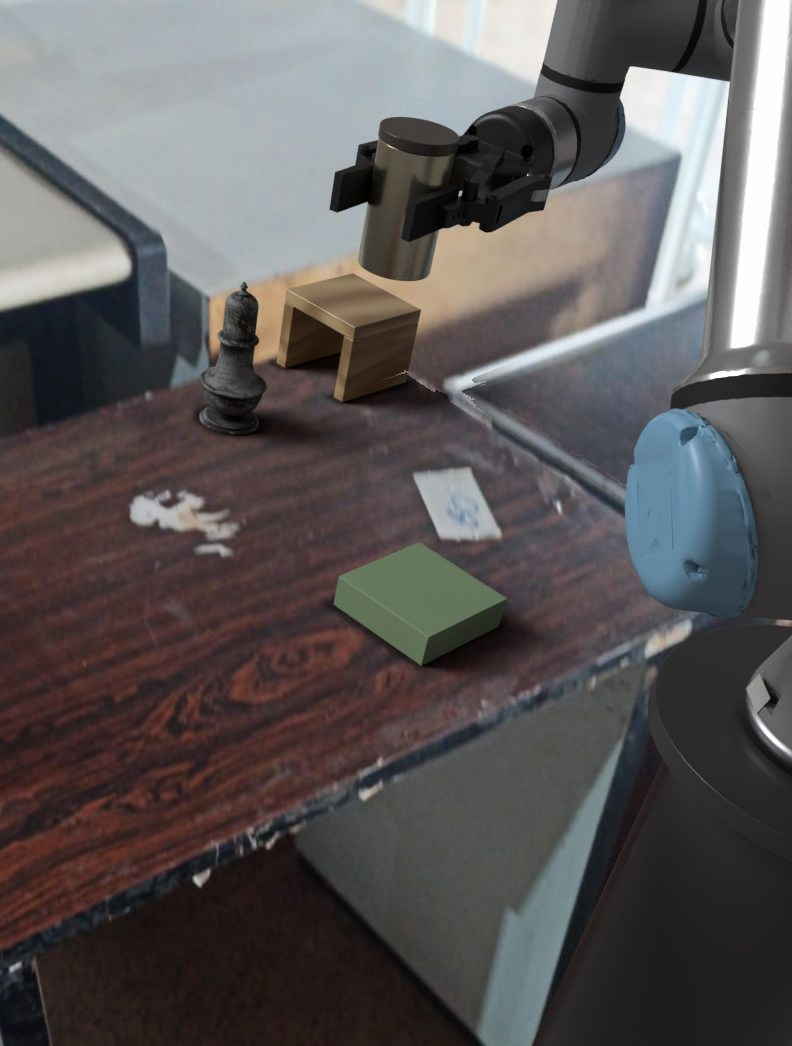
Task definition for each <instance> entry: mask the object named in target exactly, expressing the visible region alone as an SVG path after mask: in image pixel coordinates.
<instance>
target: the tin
mask: <svg viewBox="0 0 792 1046" xmlns="http://www.w3.org/2000/svg"><path fill="white" fill-rule="evenodd" d="M378 126H379V127H378V132H377V136H378V139H377V140H378V145H377V151H376V157H375V162H374V168H373V174H372V180H371V186H370V191H369V197H368V202H366V210H365V215H364V221H363V228H362V231H361V232H362V233H361V239H360V244H359V249H358V255H357V262H358V264H359V266H360V267H361V268H363V270H365V271H367V272H368V273H370V274H372V275H375V276H378V277H380V278H383V279H386V280H392V281H398V282H417V281H422V280H424V279H427V278H428V277H429V276H430V275H431V270H432V265H433V262H434V261H433V260H434V257H435V251H436V246H437V242H438V238H439V233H440V230H438V231H435V232H433V233H431V234H428V235H426V236H423V237H421V238H418V239H416V240H413V241H411V242H407V241H405V240H402V239H401V236H402V231H403V226H404V220H405V215H406V210H407V205H408V201H410V200H412V199H415V198H418V197H420V196H423V195H426V194H429V193H431V192H434V191H437V190H439V189H442V188H445V187H447V186H449V181H450V176H451V172H452V167H453V162H454V158H455V153H456V152H457V150H458V145H459V140H460V138H459V136H460V135H459V134H458V133H457V132H456V131H455V130H453V129H451V128H450V127H448V126H446V125H443V124H440V123H438V122H435V121H431V120H427V119H422V118H418V117H410V116H409V117H408V116H391V117H386V118H384V119H382V120H381V121H380V123H379V125H378Z"/></svg>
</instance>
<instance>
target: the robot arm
mask: <svg viewBox="0 0 792 1046" xmlns="http://www.w3.org/2000/svg"><path fill="white" fill-rule="evenodd" d="M554 9H555V10H554V13H553V17H552V21H551V22H552V23H551V26H550V31H549V36H548V40H547V44H546V49H545V53H544V57H543V61H542V63H541V64H542V65H541V69H540V72H539V74H538V78H537V83H536V87H535V91H534V96H533V98H529V99H526V100H523V101H519V102H516V103H512V104H510V105H506V106H504V107H501V108H498V109H495V110H491V111H488V112H485V113H484V114H482V115H480V116H479V117H477V118H476V119H475V120H474V121H473V122H471V124H470V125H469V126H468V128H467V129H466V130H465V131H464V133H463V134H462V135H459V138H460V140H459V145H458V150H457V152H456V153H455V158H454V162H453V167H452V172H451V176H450V181H449V186H447V187H445V188H442V189H439V190H437V191H434V192H431V193H429V194H426V195H423V196H420V197H418V198H415V199H412V200H410V201H408V205H407V210H406V215H405V220H404V226H403V231H402V236H401V239H402V240H405V241H407V242H411V241H413V240H416V239H418V238H421V237H423V236H426V235H428V234H431V233H433V232H435V231H438V230H439V231H440V230H442V229H451V228H453V227H455V226H456V227H457V226H460V227H470V226H471V225H472V224H473V223H476V224H478V230H479V231H482V232H483V233H487V234H488V233H493V232H495V231H497V230H499V229H500V228H501V229H502V228H503V227H505V226H506V225H508V224H510V223H512V222H514V221H515V220H518V219H519V218H521V217H523V216H525V215H527V214H529V213H535V212H541V211H544V210H545V208H546V205H547V204H546V203H547V200H548V197H549V193H550V191H552V190H555V189H558V188H561V187H563V186H565V185H568V184H571V183H574V182H579V181H581V180H585V179H586V178H588V177H591V176H592V175H594V174H595V173H596V172H598V170H600V169H601V168H603V167H605V166H606V165H608V164H609V163H610V162H611V161H612V159H614V157H615V156H616V155H617V153H618V152H619V150H620V148H621V146H622V143H623V141H624V138H625V135H626V134H625V133H626V129H627V125H626V114H625V106H624V104H623V101H622V100H621V95H622V92H623V90H624V89H623V88H624V86H625V82H626V78H627V76H628V75H627V74H628V72H629V70H630V67H633V68H640V69H647V70H654V71H661V72H668V73H672V74H673V73H675V74H679V75H686V76H691V77H698V78H704V79H708V80H709V79H710V80H715V81H722V82H728V83H729V85H728V86H729V87H728V96H727V106H726V115H725V124H724V133H723V143H722V152H721V160H720V161H721V162H720V171H719V180H718V188H717V189H718V191H717V192H718V193H717V200H716V209H715V219H714V227H713V238H712V247H711V248H712V249H711V256H710V266H709V274H708V275H709V276H708V285H707V295H706V302H705V304H706V305H705V311H704V312H705V313H704V321H703V322H704V323H703V331H702V341H701V350H700V360H699V362H698V364H697V365H696V367H695V368H694V369H692V371H690V373H689V374H688V375H687V376H685V377H684V378H683V379H682V380H681V381H680V382H678V383H677V385H675V386H674V388H673V389H672V392H671V395H670V405H669V406H670V407H669V410H667V411H665V412H662V413H659V414H658V415H656V416H655V417H654V418H652V419H651V420H650V421H648V423H647V424H646V426H645V427H644V429H642V431H641V433H640V435H639V436H638V438H637V441H636V444H635V447H634V449H633V460H634V462H633V463H632V464H630V465H629V468H628V472H627V478H626V485H625V497H624V524H625V533H626V534H625V536H626V542H627V548H628V552H629V557H630V561H631V564H632V567H633V570H634V571H635V573H636V574H637V576H638V578H639V581H640V583H641V585H642V586H643V588H644V589H645V592H647V593H648V594H649V596H650V597H651V598H653V599H654V601H656V602H657V603H659V604H660V605H663V606H664V607H667V608H670V609H673V610H678V611H687V612H693V613H700V614H707V615H709V616H710V617H713V618H716V619H725V618H736V617H740V618H753V619H766V620H777V621H778V620H779V621H789V622H792V0H557V1H556V5H555V8H554ZM377 145H378V139H376V140H372V141H368V142H364V143H359V144H358V145H357V152H356V158H355V164H354V165H351V166H349V167H345V168H343V169H340V170H336V171H334V176H333V182H332V188H331V189H332V190H331V196H330V201H329V209H328V210H329V211H331V212H334V213H337V214H338V213H340V212H343V211H347V210H350V209H351V208H354V207H357V206H360V205H362V204H365V203H366V204H367V203H368V197H369V191H370V186H371V180H372V174H373V168H374V162H375V157H376V151H377ZM460 192H461V195H460ZM740 717H741V720H742V723H743V726H744V728H745V730H746V732H747V734H748V735H749V737H750V738H751V740H752V741H753V743H754V744H755V745H756V746H757V747H758V749H759V750H760V751H761V752H762V753H763V754H764V755H765V756H766V757H767V758H768V759H769V760H771V761H772V762H773V763H774V764H775V765H777V766H778V767H779V768H780V769H782V770H783V771H785V772H786V773H788V774H789V775H791V776H792V635H791V636H790V637H789V638H788V639H787V640H786V641H785V642H784V643H783V644H782V645H781V646H780V647H779V648H778V649H777V650H776V651H775V652H774V653H773V654H772V655H771V656H770V657H768V658H767V659H766V660H765V661H764V662H763V663H762V664H761V665H760V666H759V667H758V668H757V669H756V670H755V672H754V673H753V675H752V677H751V679H750V681H749V683H748V685H747V687H746V689H745V691H744V693H743V695H742V697H741V701H740Z"/></svg>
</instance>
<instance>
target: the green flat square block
mask: <svg viewBox="0 0 792 1046" xmlns="http://www.w3.org/2000/svg"><path fill="white" fill-rule="evenodd" d="M507 602H508V598H507V597H506V596H504V595H502V594H501V593H499V592H498V591H496V590H495V589H493V587H492V588H491V587H490V586H488V585H487V584H485V583H484V582H482V581H481V580H479V579H478V578H476V577H474V576H473V575H471V574H470V573H469V572H467V571H466V570H463V569H462V568H460V567H459V566H457V564H454V563H453V562H451V561H449V560H448V559H447V558H445V557H444V556H442V555H440V554H438V553H437V552H435V550H432V549H431V548H430V547H428V546H426V545H425V544H423V543H422V542H420V541H418V542H416V543H413V544H412V545H409V546H406V547H404V548H402V549H399V550H396V551H394V552H393V553H390V554H387V555H385V556H383V557H381V558H378V559H376V560H374V561H371V562H368V563H367V564H363V565H361V566H359V567H358V568H355V569H352V570H350V571H348V572H345V573H343V574H341V575H339V576H338V580H337V583H336V589H335V595H334V599H333V605H334V606H335V607H336V608H337V609H339V610H340V611H342V612H343V613H345V614H346V615H347V616H349V617H351V618H352V619H353V620H354V621H356V622H357V623H359V624H360V625H362V626H363V627H365V628H366V629H367V630H369V631H371V632H372V633H373V634H375V635H376V636H378V637H379V638H381V639H383V641H385V642H386V643H388V644H389V645H391V647H393V648H395V649H396V650H398V651H399V652H400V653H402V654H403V655H405V656H406V657H407V658H409V659H410V660H412V661H413V662H415V663H417V664H418V665H419V666H421V667H422V666H424V665H426V664H428V663H429V662H432V661H434V660H435V659H438V658H440V657H441V656H443V655H446V654H448V653H449V652H451V651H453V650H455V649H457V648H459V647H461V646H463V645H465V644H467V643H469V642H471V641H473V640H475V639H477V638H479V637H481V636H483V635H485V634H487V633H489V632H491V631H493V630H494V629H497V628H499V627H500V625H501V621H502V617H503V614H504V611H505V608H506V605H507Z"/></svg>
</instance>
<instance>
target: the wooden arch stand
mask: <svg viewBox="0 0 792 1046" xmlns="http://www.w3.org/2000/svg"><path fill="white" fill-rule="evenodd" d="M421 314H422V309H420V308H419V307H417V306H415V305H413V304H411V303H409V302H407V301H405V300H404V299H402V298H401V297H399V296H396V295H395V294H393V293H392V292H391V293H390V292H389V291H387V290H385V289H383V288H382V287H379V286H377V285H376V284H374V283H372V282H370V281H369V280H366V279H364V278H363V277H361V276H359V275H358V274H355V273H349V274H345V275H339V276H336V277H332V278H328V279H324V280H319V281H315V282H310V283H306V284H302V285H298V286H293V287H290V288H286V292H285V299H284V303H283V312H282V319H281V327H280V334H279V343H278V348H277V349H278V350H277V355H276V356H277V357H276V364H277V365H279V366H280V367H283V368H284V369H286V368H291V367H293V366H297V365H301V364H304V363H307V362H311V361H315V360H318V359H321V358H325V357H328V356H331V355H336V354H338V353H340V357H339V364H338V369H337V375H336V380H335V381H336V382H335V387H334V393H333V398H335V399H336V400H337V401H339V402H341V403H344V402H347V401H351V400H354V399H357V398H360V397H364V396H366V395H370V394H373V393H377V392H378V391H383V390H386V389H389V388H392V387H394V386H398V385H401V384H405V383H406V382H407V378H408V374H409V369H410V364H411V360H412V356H413V350H414V346H415V341H416V336H417V331H418V326H419V322H420V317H421ZM404 370H406V371H408V373H405V374H401V375H398V376H395V375H396V374H399V373H401V372H404ZM392 376H395V377H392ZM388 377H389V379H386V378H388ZM390 377H392V378H390ZM383 379H385V380H383Z"/></svg>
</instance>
